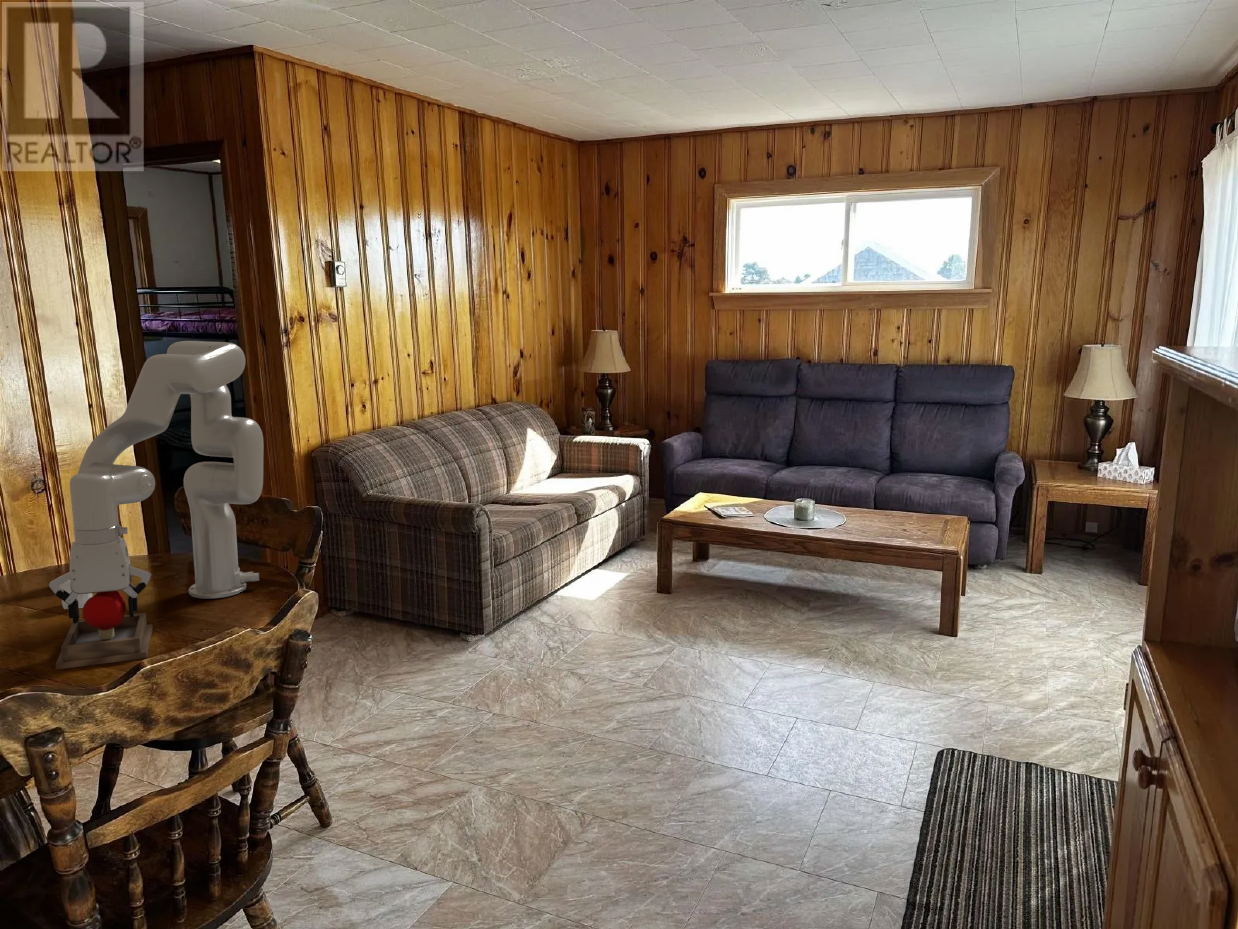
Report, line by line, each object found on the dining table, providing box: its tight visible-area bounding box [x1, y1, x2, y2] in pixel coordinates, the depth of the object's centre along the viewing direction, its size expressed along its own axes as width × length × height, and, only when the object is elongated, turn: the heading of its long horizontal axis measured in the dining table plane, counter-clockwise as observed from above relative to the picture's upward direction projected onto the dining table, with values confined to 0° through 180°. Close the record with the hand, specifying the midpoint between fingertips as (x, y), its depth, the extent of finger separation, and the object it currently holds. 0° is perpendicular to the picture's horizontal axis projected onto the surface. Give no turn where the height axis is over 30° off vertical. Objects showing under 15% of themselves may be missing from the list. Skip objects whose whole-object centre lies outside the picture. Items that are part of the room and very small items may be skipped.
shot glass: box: [57, 576, 93, 610], centre depth 193 cm, size 7×7×7 cm
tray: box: [55, 612, 154, 671], centre depth 171 cm, size 15×16×4 cm
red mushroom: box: [81, 590, 127, 641], centre depth 170 cm, size 9×7×10 cm
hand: (104, 618), depth 170 cm, fingers open, 9 cm apart
